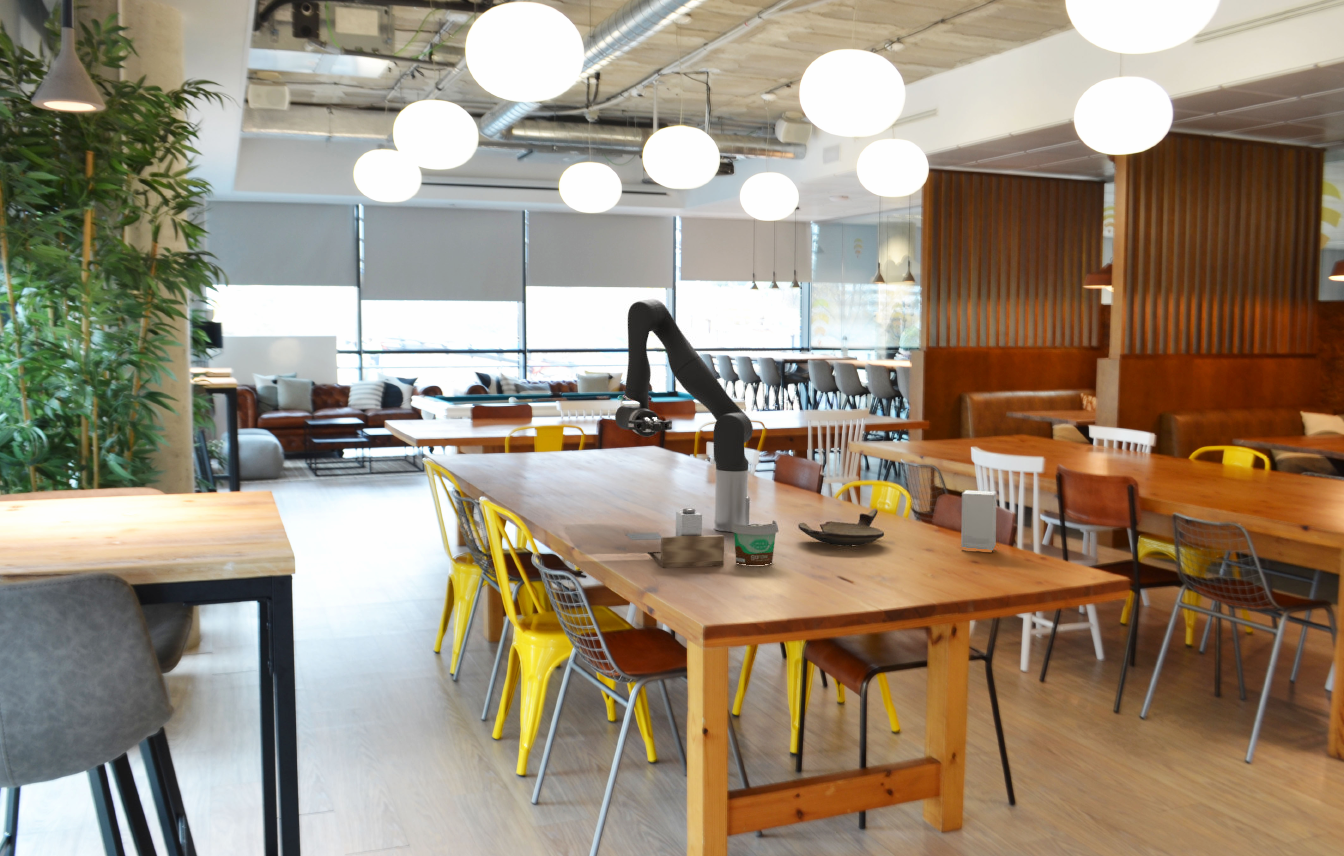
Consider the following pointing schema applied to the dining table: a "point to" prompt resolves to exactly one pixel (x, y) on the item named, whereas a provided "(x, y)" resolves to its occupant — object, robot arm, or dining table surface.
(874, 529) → the oil lamp
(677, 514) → the block
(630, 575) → the dining table surface
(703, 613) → the dining table surface
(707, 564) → the dock
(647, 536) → the stand
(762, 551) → the food container
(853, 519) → the dining table surface
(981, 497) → the skincare box
